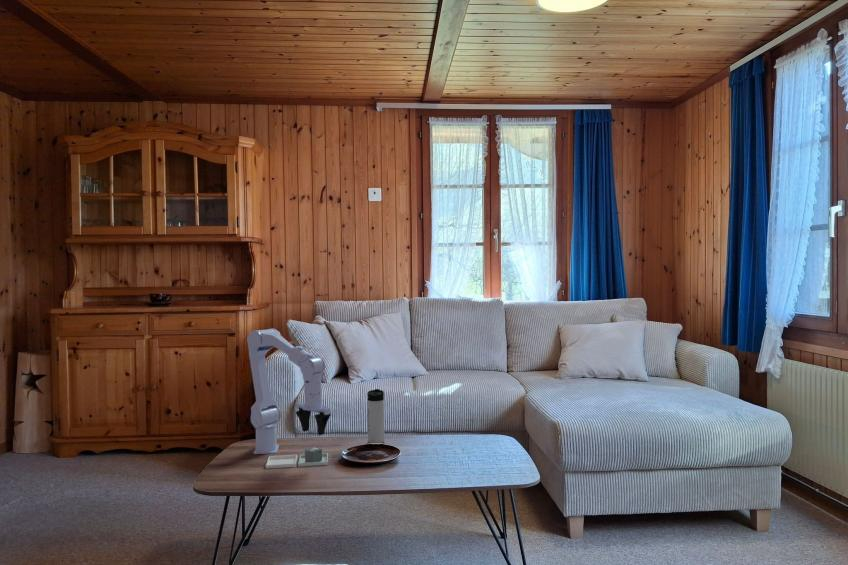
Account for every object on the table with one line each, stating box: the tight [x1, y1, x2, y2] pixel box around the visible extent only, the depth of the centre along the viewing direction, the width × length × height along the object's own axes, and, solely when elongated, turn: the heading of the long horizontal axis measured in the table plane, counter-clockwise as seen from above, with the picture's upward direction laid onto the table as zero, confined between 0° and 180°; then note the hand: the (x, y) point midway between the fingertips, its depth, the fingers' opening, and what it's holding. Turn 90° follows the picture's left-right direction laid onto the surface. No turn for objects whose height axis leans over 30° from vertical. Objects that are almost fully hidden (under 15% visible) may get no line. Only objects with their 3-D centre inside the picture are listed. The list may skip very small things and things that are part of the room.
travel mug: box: [366, 388, 385, 444], centre depth 211 cm, size 6×7×20 cm
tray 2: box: [297, 452, 329, 468], centre depth 191 cm, size 10×10×1 cm
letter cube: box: [304, 446, 323, 463], centre depth 191 cm, size 4×4×4 cm
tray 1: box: [265, 454, 299, 470], centre depth 189 cm, size 10×10×1 cm
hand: (313, 432), depth 191 cm, fingers open, 7 cm apart
